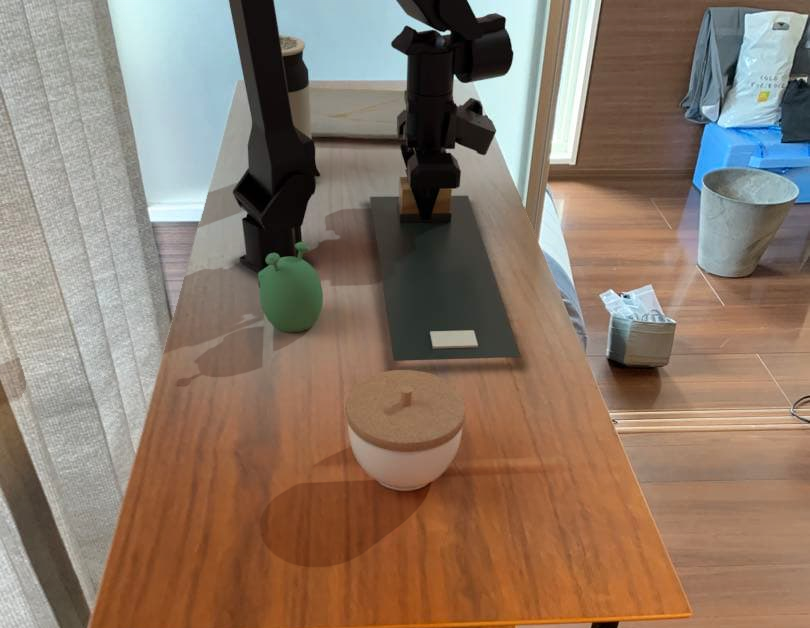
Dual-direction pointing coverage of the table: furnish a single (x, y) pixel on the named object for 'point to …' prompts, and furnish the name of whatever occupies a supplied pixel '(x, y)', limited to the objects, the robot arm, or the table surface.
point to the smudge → (453, 339)
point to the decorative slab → (355, 113)
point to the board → (439, 284)
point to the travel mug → (297, 82)
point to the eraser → (410, 210)
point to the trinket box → (405, 427)
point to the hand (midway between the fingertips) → (423, 212)
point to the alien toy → (290, 292)
